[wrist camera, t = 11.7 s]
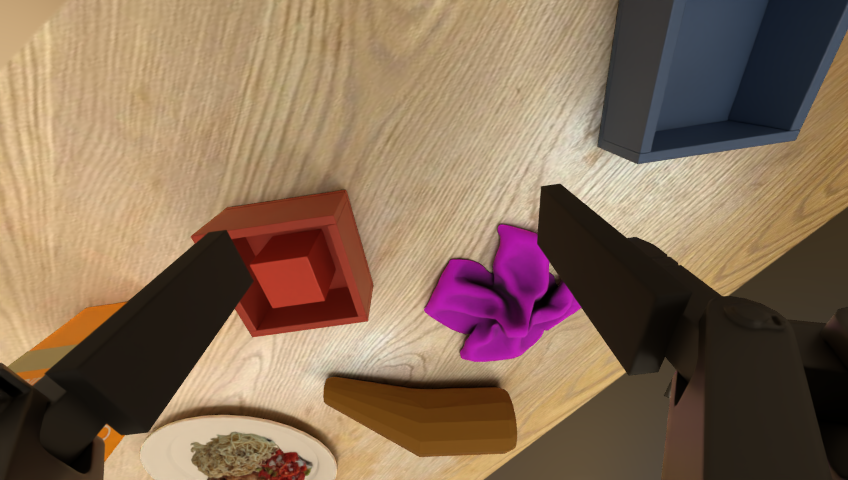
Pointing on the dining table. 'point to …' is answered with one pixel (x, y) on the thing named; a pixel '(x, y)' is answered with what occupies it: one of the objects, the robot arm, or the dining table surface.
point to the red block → (295, 268)
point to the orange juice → (61, 344)
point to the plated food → (235, 451)
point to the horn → (429, 416)
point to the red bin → (291, 216)
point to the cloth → (501, 299)
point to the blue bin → (715, 74)
